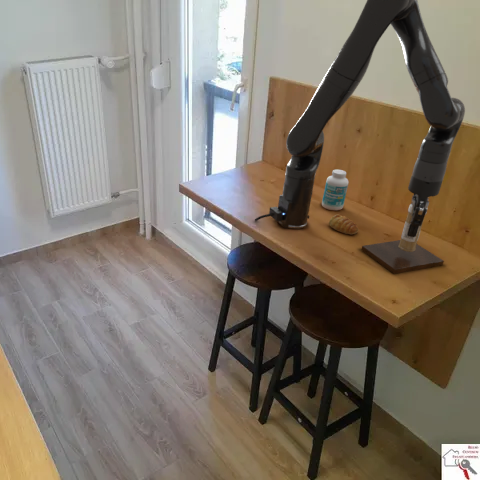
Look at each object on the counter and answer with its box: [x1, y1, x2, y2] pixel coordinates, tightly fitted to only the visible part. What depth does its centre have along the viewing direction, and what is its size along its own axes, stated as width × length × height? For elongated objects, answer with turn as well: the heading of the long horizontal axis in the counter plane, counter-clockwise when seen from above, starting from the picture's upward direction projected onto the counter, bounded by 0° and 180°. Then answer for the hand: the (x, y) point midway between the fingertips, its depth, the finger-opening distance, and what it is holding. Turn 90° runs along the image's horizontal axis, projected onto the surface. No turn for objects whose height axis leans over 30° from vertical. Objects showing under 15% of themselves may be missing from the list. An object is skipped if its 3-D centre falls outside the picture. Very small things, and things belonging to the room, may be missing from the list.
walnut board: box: [360, 239, 445, 275], centre depth 139 cm, size 17×14×2 cm
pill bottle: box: [321, 169, 350, 211], centre depth 168 cm, size 8×7×14 cm
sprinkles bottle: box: [398, 203, 428, 252], centre depth 134 cm, size 5×5×13 cm
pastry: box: [328, 214, 359, 235], centre depth 154 cm, size 9×7×4 cm
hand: (410, 232), depth 134 cm, fingers closed on sprinkles bottle, 4 cm apart
